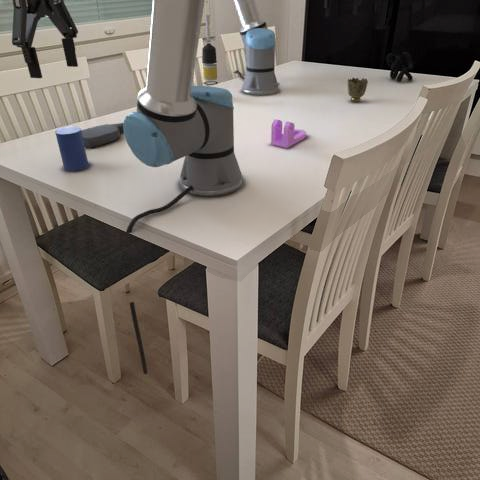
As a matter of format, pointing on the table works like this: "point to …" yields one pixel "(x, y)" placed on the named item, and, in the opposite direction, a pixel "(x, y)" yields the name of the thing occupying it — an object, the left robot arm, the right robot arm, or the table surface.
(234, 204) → the table surface
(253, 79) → the right robot arm
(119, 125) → the dark grey flat piece
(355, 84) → the cup
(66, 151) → the can
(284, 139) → the bracket
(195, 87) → the left robot arm
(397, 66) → the squiggle
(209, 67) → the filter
